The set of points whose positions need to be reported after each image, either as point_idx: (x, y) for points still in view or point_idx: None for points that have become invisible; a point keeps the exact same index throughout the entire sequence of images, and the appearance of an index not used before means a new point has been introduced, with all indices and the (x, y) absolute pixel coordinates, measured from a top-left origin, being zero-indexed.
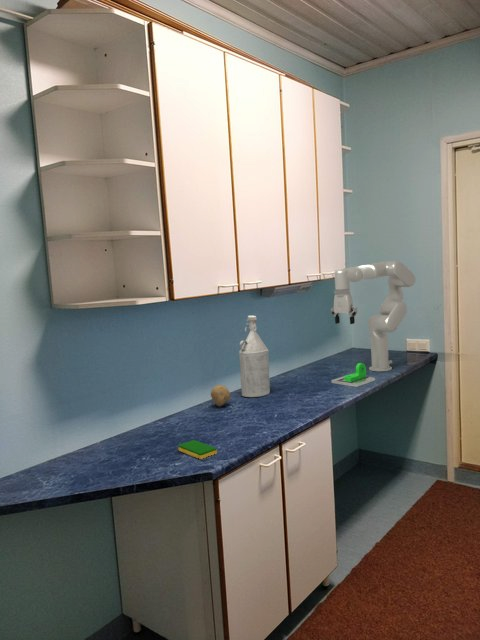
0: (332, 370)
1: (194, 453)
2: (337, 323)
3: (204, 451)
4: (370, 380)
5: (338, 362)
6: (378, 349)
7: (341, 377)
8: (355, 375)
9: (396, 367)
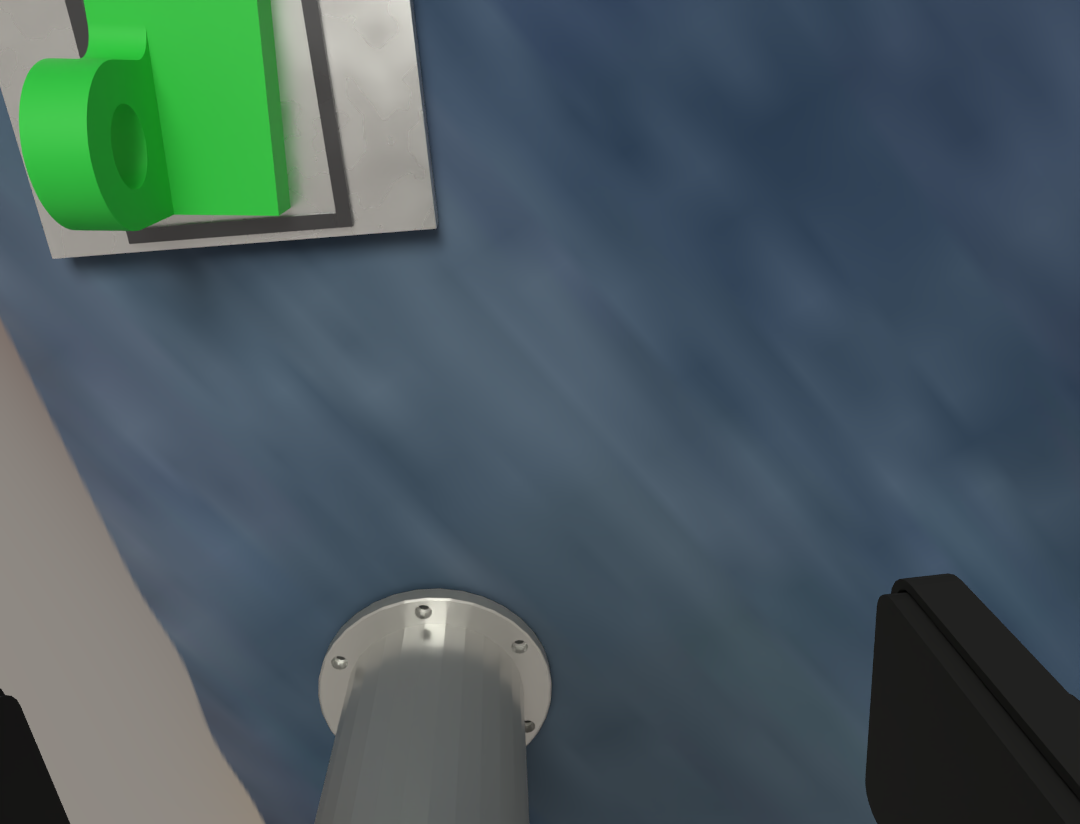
0: (859, 387)
1: None
2: (884, 659)
3: None
4: None
5: None
6: (351, 817)
7: (393, 11)
8: (138, 35)
9: None
